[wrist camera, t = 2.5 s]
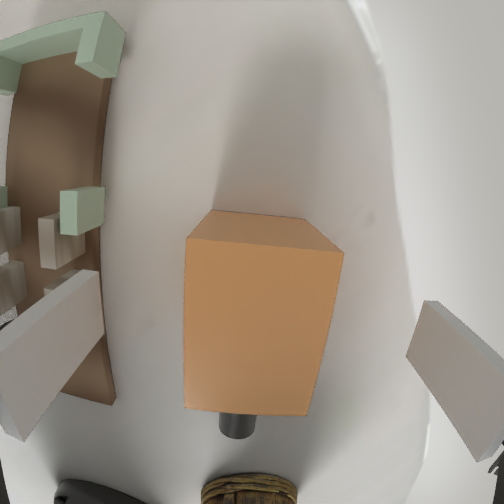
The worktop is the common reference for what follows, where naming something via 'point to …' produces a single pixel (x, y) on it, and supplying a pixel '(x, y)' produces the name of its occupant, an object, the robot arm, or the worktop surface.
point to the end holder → (88, 57)
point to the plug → (255, 316)
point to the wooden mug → (249, 490)
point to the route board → (54, 196)
